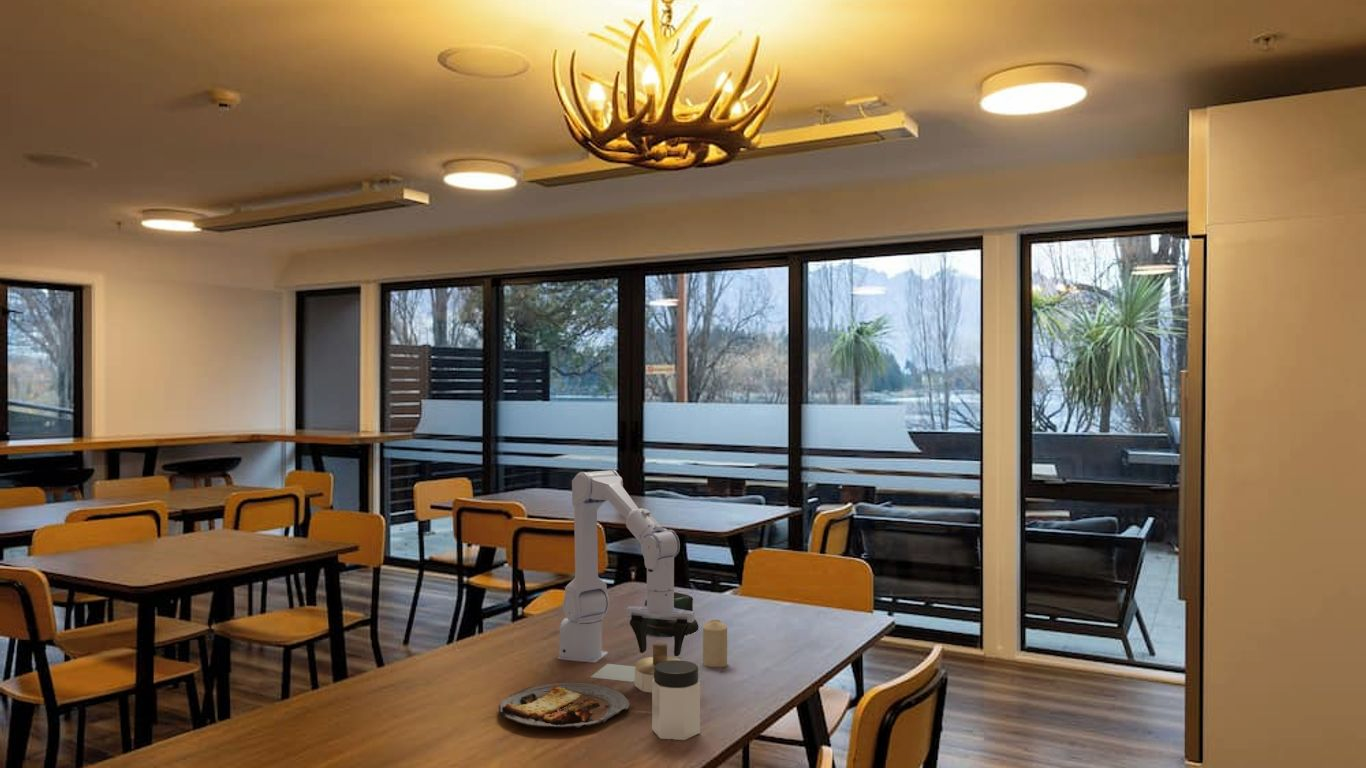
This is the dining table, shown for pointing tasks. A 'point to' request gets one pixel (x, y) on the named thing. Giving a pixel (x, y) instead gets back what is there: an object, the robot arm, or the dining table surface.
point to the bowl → (643, 681)
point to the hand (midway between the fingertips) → (660, 653)
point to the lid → (653, 659)
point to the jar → (676, 700)
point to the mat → (616, 673)
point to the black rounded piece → (666, 626)
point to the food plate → (560, 705)
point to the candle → (715, 644)
